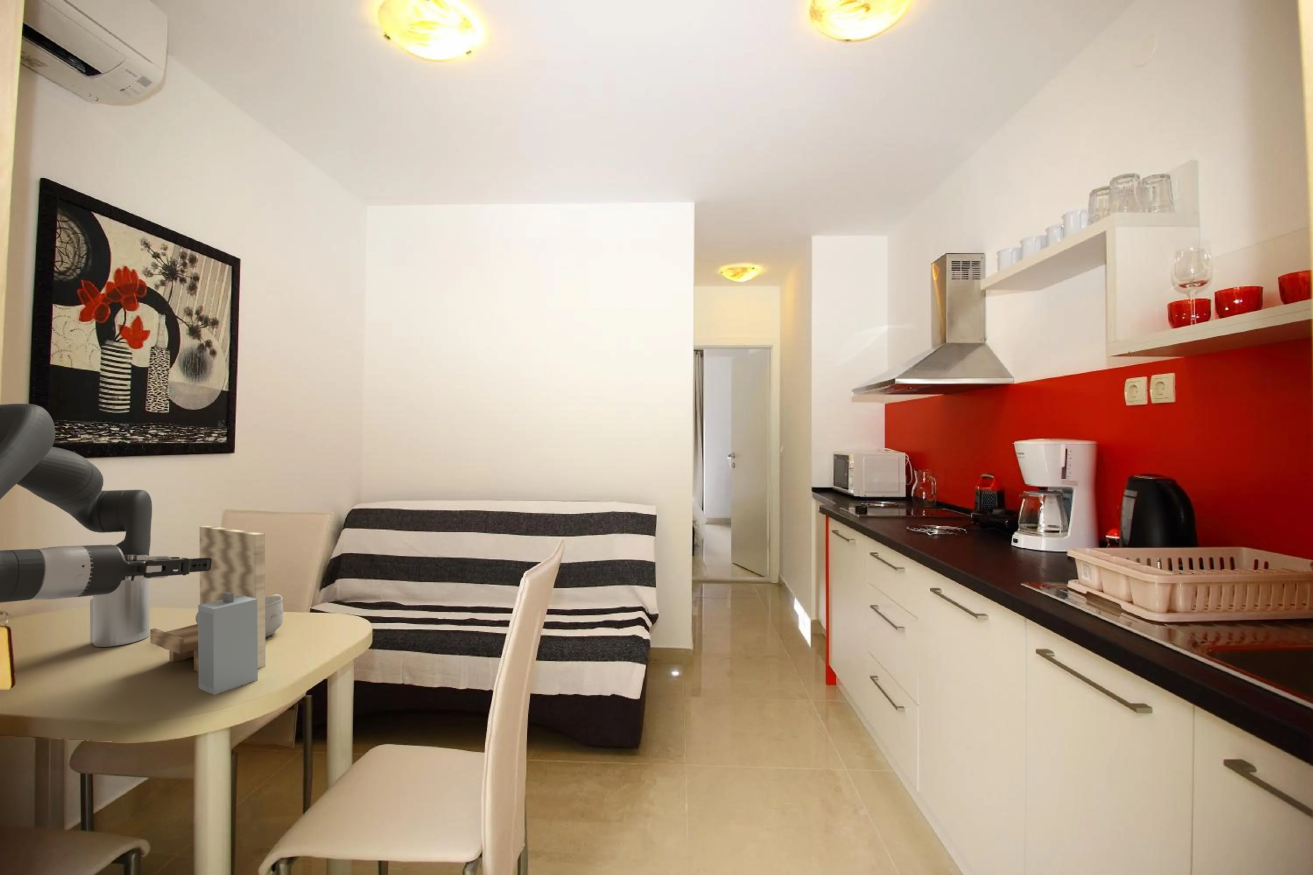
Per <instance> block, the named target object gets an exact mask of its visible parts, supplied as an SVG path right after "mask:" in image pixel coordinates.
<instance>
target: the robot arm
mask: <svg viewBox="0 0 1313 875" xmlns="http://www.w3.org/2000/svg"><path fill="white" fill-rule="evenodd" d="M55 428H56V427H55V423H54V421H53V418H52V416H51V415H50V413H49V412H48V411H47V410H46V409H45V408H44V407H43V406H39V405H37V404H33V403H6V404H3V403H1V404H0V500H2V498H3V497H4V496H5V495H7V493H8V492H10V490H11V489H13V488H14V486H16V485H17V486H19V487H22V488H24V489H26V490H27V491H29V492H31V493H32V494H34V495H35V496H36V497H39V498H40V499H42V500H44V501H46V502H47V503H50V504H52V505H54V506H56V507H57V508H60V510H63V511H64V512H66V513H67V514H69V515H70V516H71V517H72V518H73V519H75V520H76V521H77V522H78V523H79V524H80V525H82V527H84V528H85V529H86V530H89V531H91V532H92V533H93V532H94V533H99V534H102V533H103V534H104V533H105V534H106V533H125V536H124V538H123V540H121V541H120V542H118V543H116V544H92V545H91V544H89V545H87V544H86V545H62V546H60V545H59V546H49V547H43V548H30V549H29V548H28V549H26V548H24V549H3V550H0V603H1V604H2V603H11V602H21V601H22V602H23V601H34V600H36V601H37V600H39V601H40V600H41V601H46V600H47V601H49V600H51V601H52V600H59V599H60V600H61V599H71V598H73V599H74V598H80V597H81V598H82V597H92V598H91V599H90V600H89V623H90V624H89V627H90V628H89V640H90V644H93V645H92V646H94V647H98V648H99V647H100V648H101V647H102V648H108V647H117V646H124V645H128V644H132V643H136V642H139V641H141V640H144V639H146V638H148V637H149V636H150V629H151V628H150V625H151V624H150V620H151V619H150V618H151V617H150V614H151V613H150V611H151V609H150V606H151V605H150V603H151V602H150V601H151V600H150V596H151V595H150V593H151V592H150V580H151V579H164V578H167V577H170V576H171V577H172V576H187V575H190V573H198V572H199V573H200V572H201V571H209V570H210V569H211V563H212V559H211V558H200V557H195V558H188V557H179V556H170V555H159V556H157V555H153V556H152V555H151V556H150V550H151V541H152V540H151V539H152V538H151V530H152V519H153V518H152V517H153V502H152V497H151V495H150V494H149V492H148V491H146V490H144V489H122V490H121V489H119V490H114V489H113V490H103V486H104V476H103V474H102V472H101V470H100V469H99V468H98V467H97V466H96V465H94V464H93V463H92V462H90V461H89V460H88V459H86V458H85V457H84V456H82V455H81V454H78V453H77V452H74V451H71V450H67V449H64V448H60V447H56V446H54V444H55V443H54V442H55V439H56V429H55Z"/></svg>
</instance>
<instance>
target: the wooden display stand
mask: <svg viewBox="0 0 1313 875" xmlns="http://www.w3.org/2000/svg"><path fill="white" fill-rule="evenodd" d="M265 537H266V536H265V533H264V532H263V533H262V532H256V531H249V530H241V529H236V528H235V529H233V528H227V527H222V526H221V527H220V526H213V525H202V526H199V558H211V559H212V563H211V569H210V570H209V571H201V572H199V605H200V604H204V603H209V602H213V601H218V600H222V599H223V593H225V592H230V593H234V597H236V596H241V595H242V596H246V597H251V598H255V599H257V631H258V669H260V668H264V667H266V637H265V596H266V550H265V549H266V546H265V545H266V539H265ZM149 636H150V641H149V644H152V645H155V646H157V647H160V648H162V649H166V650H167V651H168V652H169V653H168V654H169V662H171V663H176V662H179V661H184V660H186V659H190V658H193V671H194V672H196V673H199V655H198V624H197V623H196V624H192V625H187V626H184V627H178V628H175V629H171V630H167V631H164V630H161V629H158V628H150V635H149ZM263 666H264V667H263Z"/></svg>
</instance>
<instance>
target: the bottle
mask: <svg viewBox="0 0 1313 875" xmlns="http://www.w3.org/2000/svg"><path fill="white" fill-rule="evenodd" d="M197 608H198V609H197V613H198V655H199V672H198V689H199V690H201V691H204V692H206V693H209V694H212V695H213V696H215V695H219V694H221V692H222V693H224V692H227V691H230V690H234V689H237V688H239V687H241V685H242V686H244V685H247V684H251V683H253V681H254V682H257V681H258V679H259V668H258V631H257V599H255V598H251V597H246V596H242V595H241V596H236V597H234V593H230V592H225V593H223V599H222V600H218V601H213V602H209V603H204V604H200V603H199V604H198V605H197ZM256 680H257V681H256ZM250 682H251V683H250ZM229 689H230V690H229Z"/></svg>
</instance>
